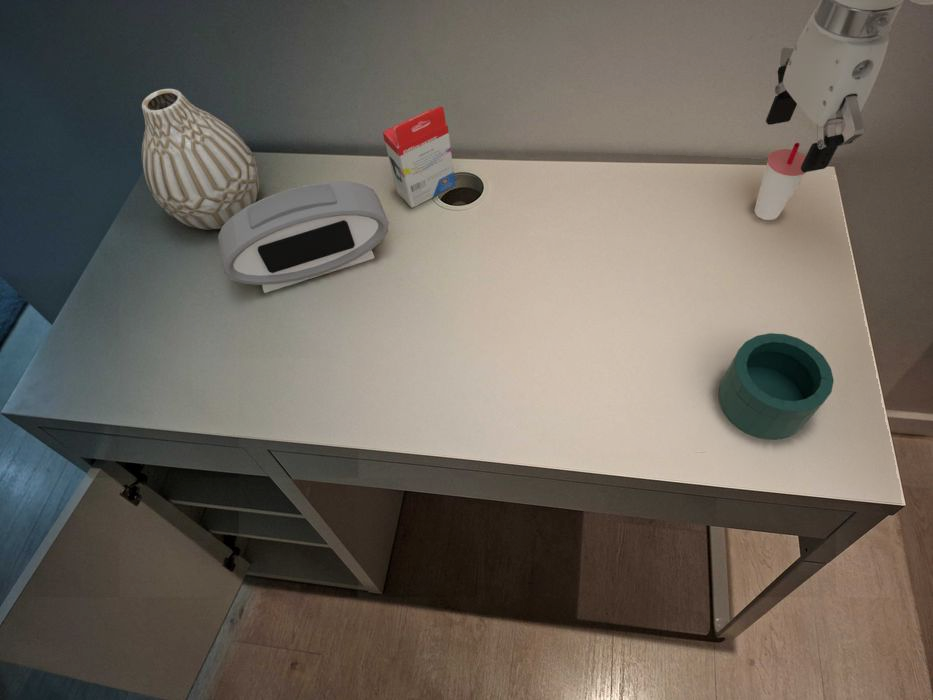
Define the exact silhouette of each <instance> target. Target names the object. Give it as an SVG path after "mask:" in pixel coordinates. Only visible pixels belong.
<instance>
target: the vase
mask: <svg viewBox="0 0 933 700" xmlns="http://www.w3.org/2000/svg"><path fill="white" fill-rule="evenodd" d="M141 110H142V114H143V118H144V126H145V127H144V132H143V137H142V145H141V166H142V171H143V176H144V178H145V182H146V184H147V187H148V190H149V192H150V194H151V196H152V198H153V199H154V200H155V201H156V203H157V204H158V205H159V206H160V208H162V210H164V212H166V214H168V215H169V216H170V217H171V218H173V219H174V220H175V221H178V222H180V223H182V224H183V225H186V226H188V227H191V228H195V229H199V230H207V231H208V230H221V228H222V226H223V225H224V224H225V223H226V222H227V221H228V220H229V219H230V218H231V217H232V216H234V215H235V214H237V213H238V212H240V211H241V210H243V209H244V208H246V207H247V206H249V205H251V204H253V203H255V202H257V199H258V194H259V190H260V173H259V168H258V165H257V162H256V158H255V157H254V153H253V152H252V151H251V149H250V147H249V146H248V144H247V143H246V142H245V141H244V140H243V138H242V137H241V136H240V134H238V133H237V132H236V131H235V130H234V129H233V128H232V127H231V126H230V125H228V124H227V123H226V122H225V121H223V120H221V119H220V118H218V117H217V116H215V115H213V114H211V113H210V112H208V111H205V110H204V109H202V108H199V107H198V106H196V105H195V104H194V103H192V102H191V101H190V100H189V99H188V98H187V97H186V96H185V95H184V94H183V93H182V92H181V91H180V90H178V89H175V88H162V89H159V90H156V91H154V92H151V93H150V94H149V95H147V96H145V98H144V99H143V100H142V103H141Z"/></svg>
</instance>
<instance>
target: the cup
mask: <svg viewBox="0 0 933 700" xmlns="http://www.w3.org/2000/svg"><path fill="white" fill-rule="evenodd" d="M800 145H801V143H799V142H795V143H794V145H793V147H792V149H788V148H787V149H786V148H783V149H781V148H780V149H776V150H774V151H772V152H770V154H769V155H768V156H767V160H766V161H767V162H766V166H765V169H764V173H763V175H762V179H761V183H760V187H759V191H758V194H757V198H756V202H755V206H754V214H755V215H756V217H757V218H759V219H761V220H764V221H774V220H776V219H778V218H779V216H780V215H781V213H782V212H783V210H784V209H785V207H786V205H787V204H788V202H789V201H790V199H791V198H792V196H793V194H794V193H795V191H796V189H798V187H799V185H800V184H801V182H802V180H803V178H804V177H805V175H806V174H807V172H802V170H801V166H802V164H803V161H804V159H805V157H806V154H804V153H803V152H800V151H798V150H799V147H800Z"/></svg>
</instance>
